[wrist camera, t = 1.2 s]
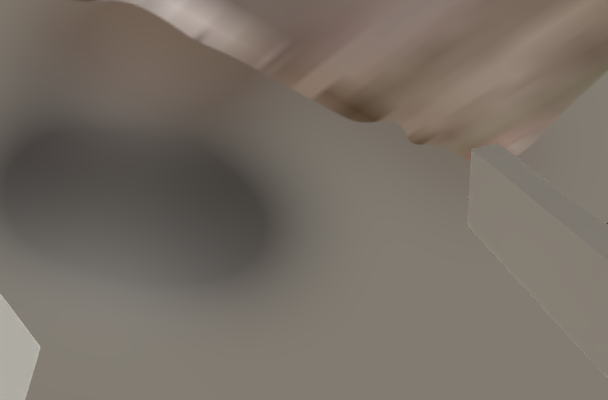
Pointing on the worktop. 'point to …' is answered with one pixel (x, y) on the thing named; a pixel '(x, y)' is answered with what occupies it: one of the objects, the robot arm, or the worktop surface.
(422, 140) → the worktop surface
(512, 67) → the worktop surface
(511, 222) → the robot arm
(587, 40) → the worktop surface
